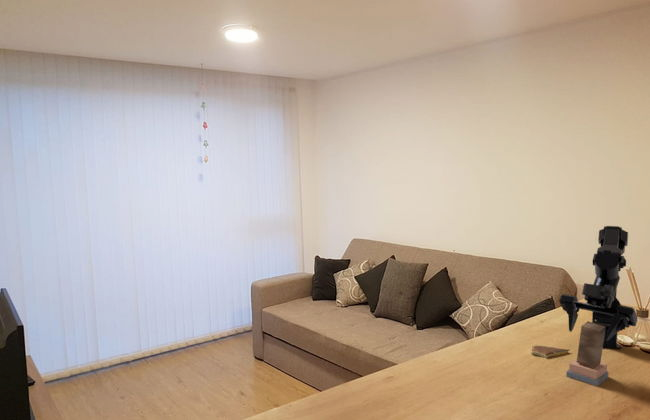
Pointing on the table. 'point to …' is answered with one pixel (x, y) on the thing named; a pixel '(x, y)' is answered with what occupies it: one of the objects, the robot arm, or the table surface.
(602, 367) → the terracotta top slab
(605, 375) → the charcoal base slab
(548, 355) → the shard
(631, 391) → the table surface
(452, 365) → the table surface
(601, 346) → the walnut pillar
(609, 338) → the robot arm
